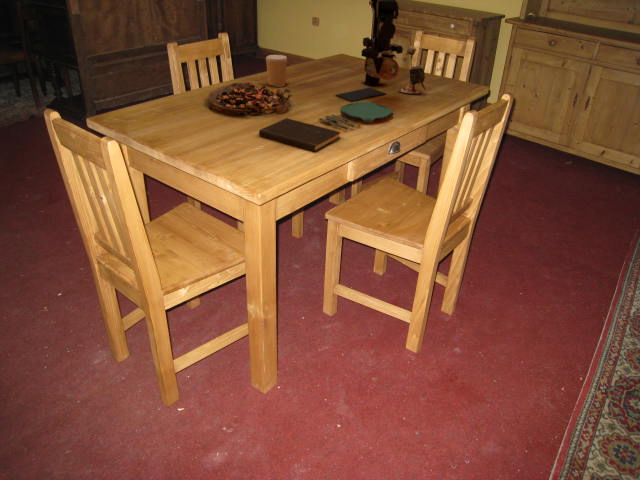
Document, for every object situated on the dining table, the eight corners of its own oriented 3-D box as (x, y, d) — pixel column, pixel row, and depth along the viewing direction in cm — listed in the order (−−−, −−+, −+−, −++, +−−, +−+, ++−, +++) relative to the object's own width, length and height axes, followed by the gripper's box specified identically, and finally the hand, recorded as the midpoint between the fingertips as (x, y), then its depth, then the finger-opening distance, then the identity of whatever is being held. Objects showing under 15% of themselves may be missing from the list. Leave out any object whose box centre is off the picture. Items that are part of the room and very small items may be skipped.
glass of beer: (291, 84, 234) (291, 56, 227) (279, 88, 227) (278, 60, 221) (274, 80, 238) (274, 53, 231) (262, 84, 231) (261, 57, 225)
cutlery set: (402, 116, 200) (403, 111, 199) (349, 133, 182) (349, 127, 181) (364, 104, 212) (365, 98, 211) (311, 119, 194) (311, 113, 193)
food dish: (308, 108, 208) (309, 89, 204) (245, 128, 188) (244, 107, 183) (251, 86, 227) (251, 68, 223) (188, 102, 207) (187, 83, 202)
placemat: (369, 88, 232) (369, 87, 231) (385, 94, 225) (385, 93, 225) (335, 95, 221) (335, 94, 220) (351, 101, 214) (351, 100, 214)
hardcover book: (286, 124, 188) (286, 118, 187) (340, 138, 178) (340, 131, 177) (258, 136, 177) (258, 130, 176) (314, 152, 167) (314, 145, 165)
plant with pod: (418, 97, 223) (425, 49, 213) (396, 91, 229) (401, 44, 218) (427, 93, 229) (434, 46, 218) (405, 88, 234) (411, 42, 224)
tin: (364, 74, 216) (365, 54, 211) (368, 73, 218) (369, 52, 213) (394, 82, 208) (396, 61, 203) (398, 80, 210) (400, 59, 205)
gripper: (385, 26, 214) (381, 65, 222) (353, 31, 203) (350, 71, 212) (405, 31, 207) (401, 71, 215) (373, 36, 196) (369, 77, 205)
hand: (380, 72), depth 212 cm, fingers closed on tin, 3 cm apart
